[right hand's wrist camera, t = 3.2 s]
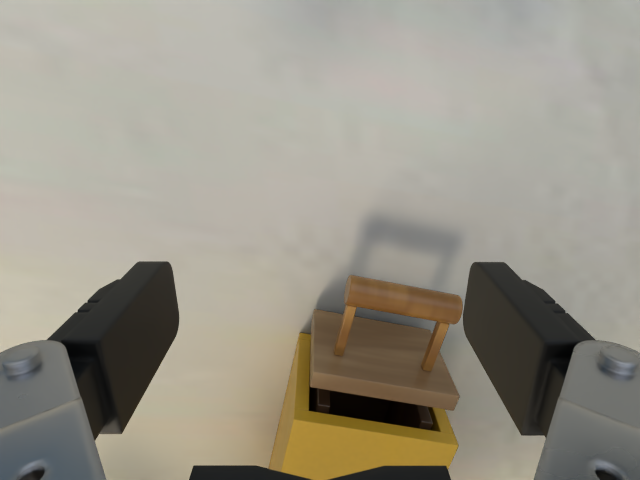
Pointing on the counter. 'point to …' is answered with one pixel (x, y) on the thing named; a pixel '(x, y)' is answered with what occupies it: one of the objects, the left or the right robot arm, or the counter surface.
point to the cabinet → (349, 435)
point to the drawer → (383, 356)
